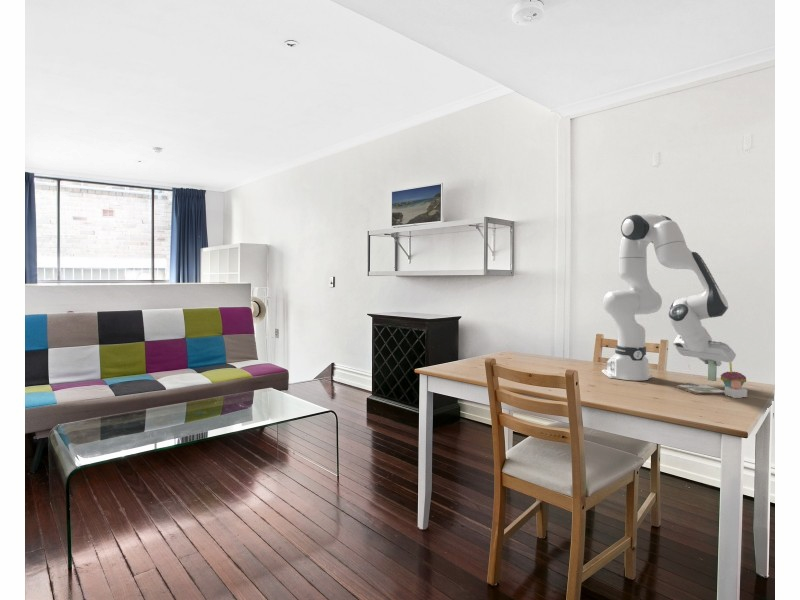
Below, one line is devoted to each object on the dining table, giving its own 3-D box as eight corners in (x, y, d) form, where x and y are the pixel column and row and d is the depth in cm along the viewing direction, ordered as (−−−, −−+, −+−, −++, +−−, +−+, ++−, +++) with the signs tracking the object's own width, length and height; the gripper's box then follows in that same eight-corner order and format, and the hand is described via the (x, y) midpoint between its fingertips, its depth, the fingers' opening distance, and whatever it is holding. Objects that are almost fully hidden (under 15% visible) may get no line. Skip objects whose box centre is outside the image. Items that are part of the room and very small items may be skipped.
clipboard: (671, 385, 201) (671, 382, 201) (704, 385, 201) (705, 382, 201) (695, 394, 186) (695, 391, 186) (731, 394, 186) (731, 391, 186)
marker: (705, 379, 190) (706, 348, 189) (713, 379, 190) (713, 348, 189) (710, 381, 187) (711, 349, 186) (718, 381, 187) (719, 349, 186)
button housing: (724, 394, 186) (724, 386, 186) (737, 394, 186) (737, 386, 186) (733, 397, 181) (734, 389, 181) (747, 397, 181) (747, 389, 181)
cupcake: (735, 392, 189) (736, 361, 188) (714, 387, 197) (715, 358, 196) (751, 390, 192) (752, 360, 191) (730, 386, 200) (731, 357, 199)
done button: (729, 391, 185) (729, 380, 184) (736, 391, 185) (737, 380, 185) (734, 393, 182) (735, 382, 181) (742, 393, 182) (742, 382, 182)
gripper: (729, 336, 175) (745, 361, 180) (676, 331, 194) (692, 354, 198) (721, 349, 174) (737, 374, 178) (668, 343, 192) (684, 365, 197)
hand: (713, 363), depth 188 cm, fingers closed on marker, 3 cm apart
